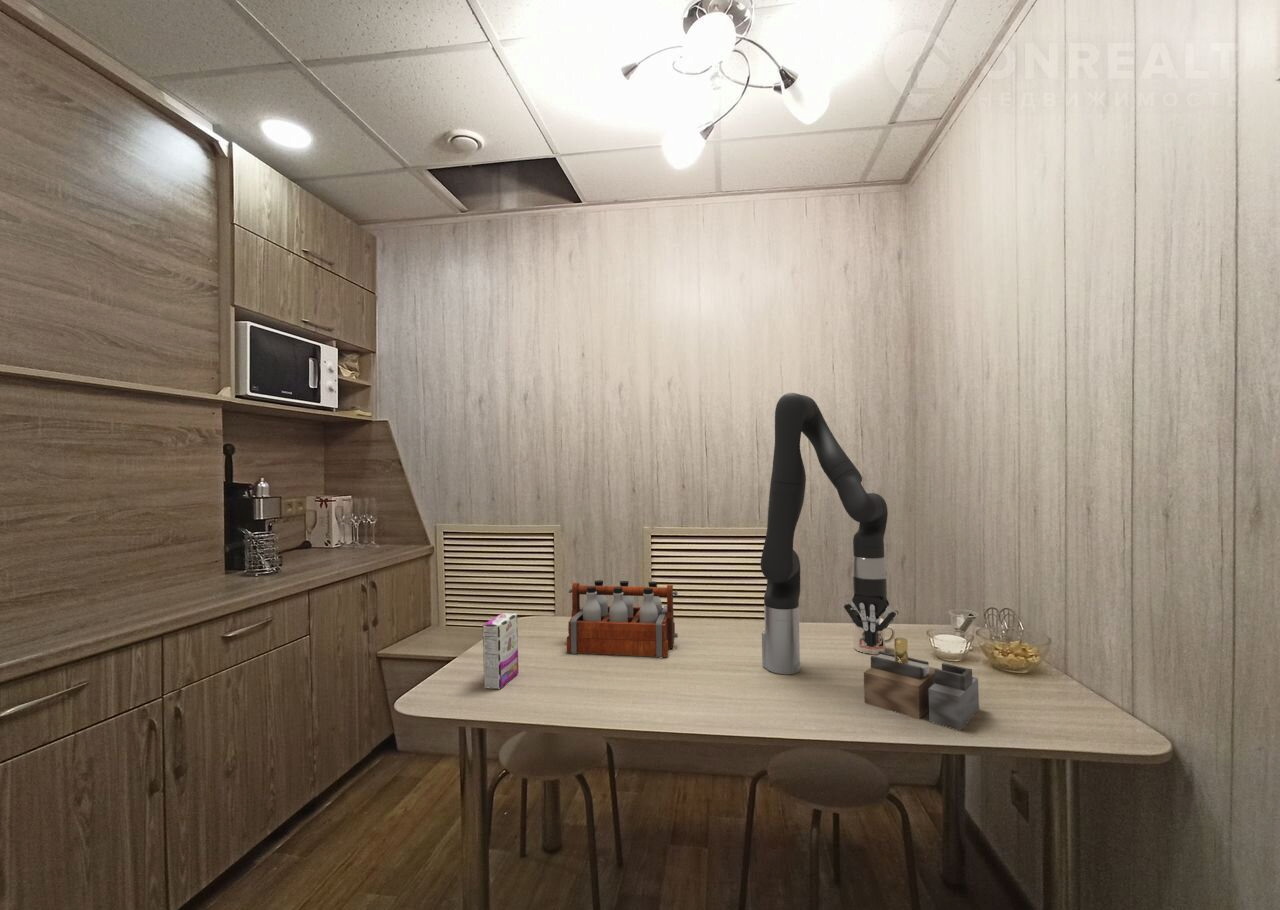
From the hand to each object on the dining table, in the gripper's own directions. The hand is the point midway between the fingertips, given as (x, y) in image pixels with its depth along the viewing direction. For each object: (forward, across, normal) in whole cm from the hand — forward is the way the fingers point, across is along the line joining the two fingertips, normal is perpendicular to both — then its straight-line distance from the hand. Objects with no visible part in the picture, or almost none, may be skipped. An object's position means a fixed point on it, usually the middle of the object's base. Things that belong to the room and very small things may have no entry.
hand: (871, 646), depth 132 cm
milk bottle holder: (+11, -71, -17) cm, 74 cm away
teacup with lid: (+11, -12, +31) cm, 35 cm away
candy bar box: (+11, -73, -59) cm, 95 cm away
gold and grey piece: (+4, +6, 0) cm, 8 cm away
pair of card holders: (+11, +12, 0) cm, 16 cm away
